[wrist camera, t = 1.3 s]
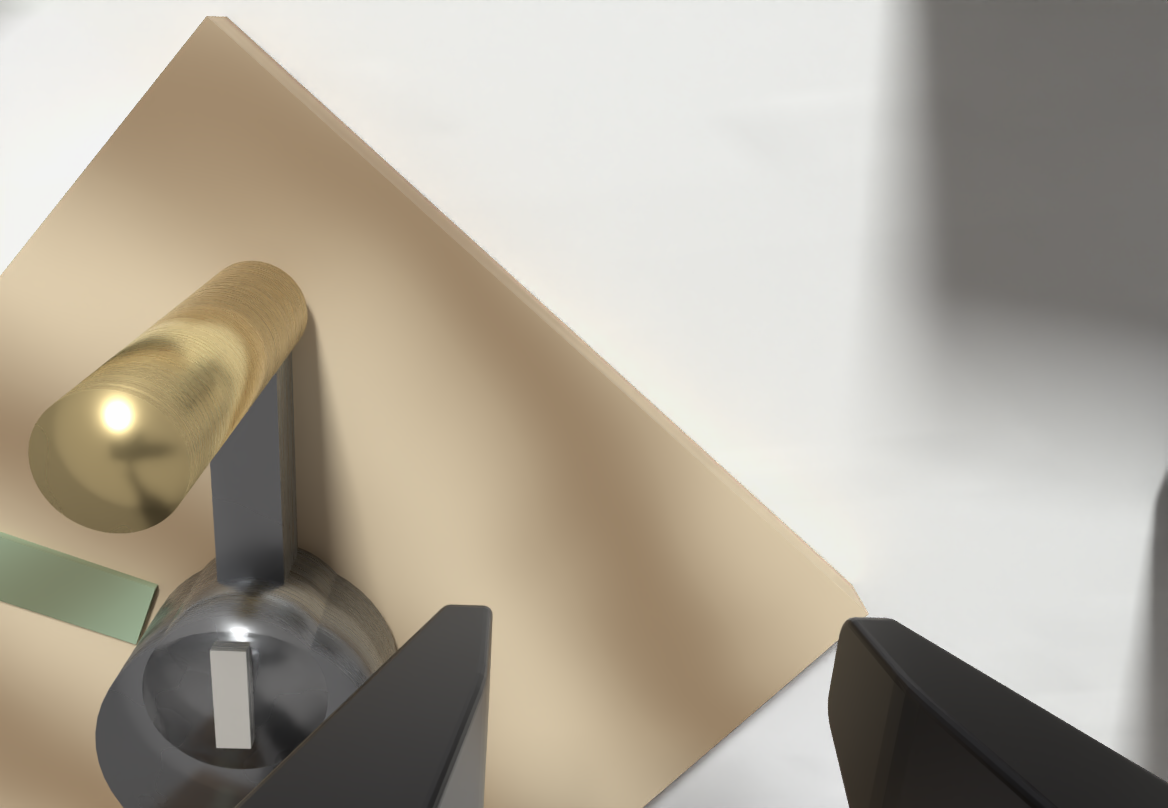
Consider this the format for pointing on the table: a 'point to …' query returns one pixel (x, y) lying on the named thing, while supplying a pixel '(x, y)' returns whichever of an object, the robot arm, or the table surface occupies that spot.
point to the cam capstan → (242, 545)
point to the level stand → (387, 459)
